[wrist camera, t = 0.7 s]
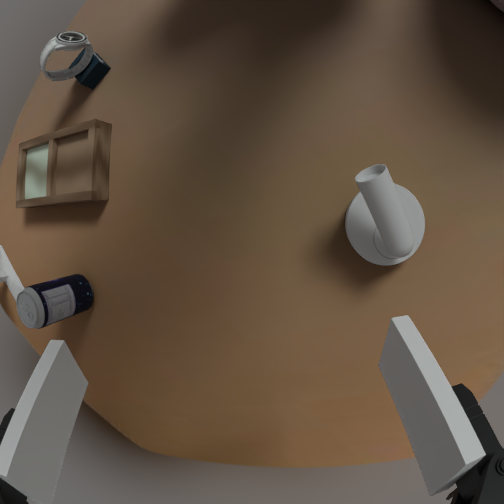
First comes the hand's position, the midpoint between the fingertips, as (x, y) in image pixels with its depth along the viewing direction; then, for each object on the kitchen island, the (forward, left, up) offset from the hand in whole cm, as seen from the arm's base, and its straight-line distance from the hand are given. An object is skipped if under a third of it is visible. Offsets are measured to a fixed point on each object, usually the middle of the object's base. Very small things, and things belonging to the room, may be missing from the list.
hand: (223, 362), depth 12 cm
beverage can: (+6, -32, -25) cm, 41 cm away
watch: (-29, -31, -25) cm, 49 cm away
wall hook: (-5, +9, -25) cm, 28 cm away
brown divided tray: (-13, -35, -25) cm, 45 cm away
